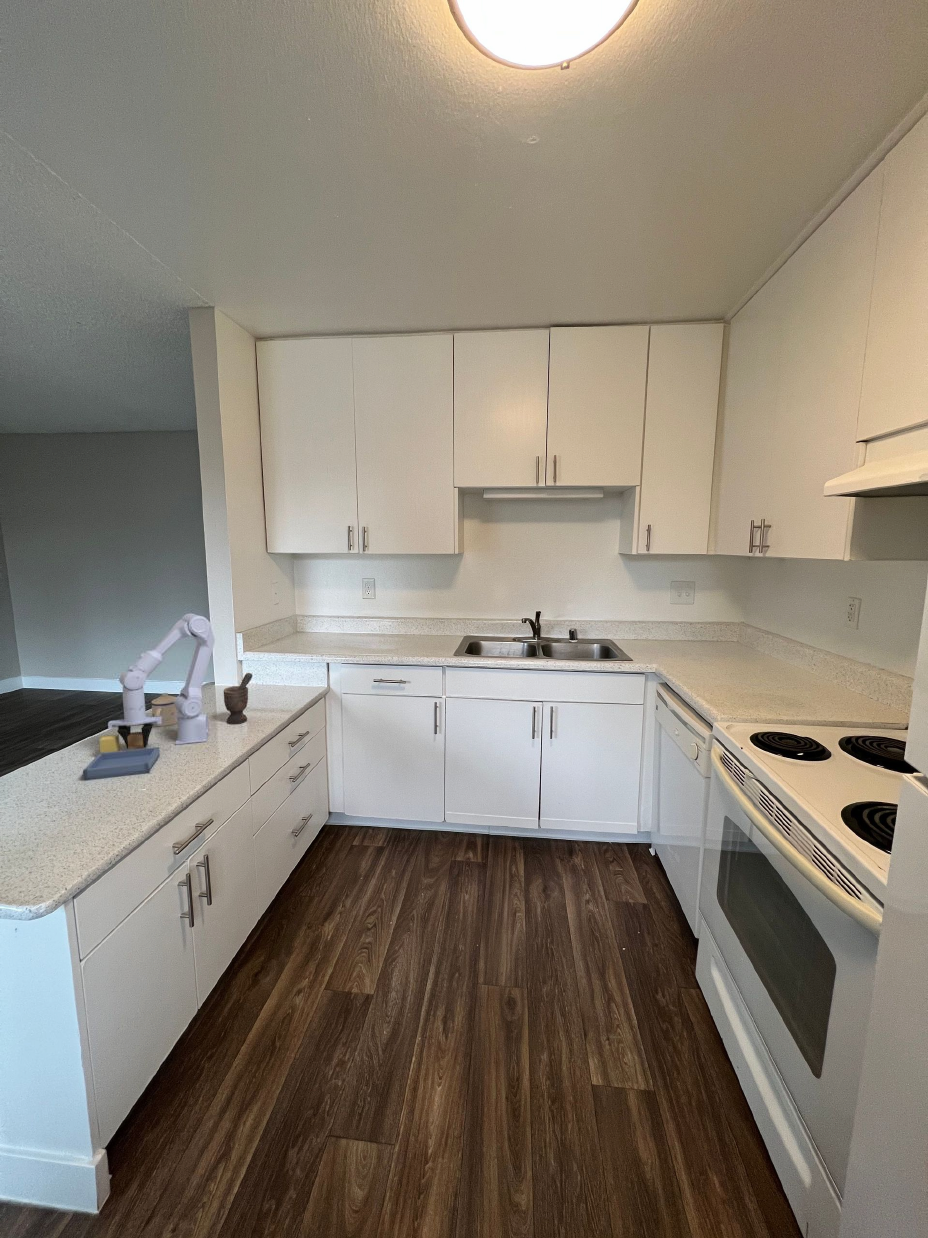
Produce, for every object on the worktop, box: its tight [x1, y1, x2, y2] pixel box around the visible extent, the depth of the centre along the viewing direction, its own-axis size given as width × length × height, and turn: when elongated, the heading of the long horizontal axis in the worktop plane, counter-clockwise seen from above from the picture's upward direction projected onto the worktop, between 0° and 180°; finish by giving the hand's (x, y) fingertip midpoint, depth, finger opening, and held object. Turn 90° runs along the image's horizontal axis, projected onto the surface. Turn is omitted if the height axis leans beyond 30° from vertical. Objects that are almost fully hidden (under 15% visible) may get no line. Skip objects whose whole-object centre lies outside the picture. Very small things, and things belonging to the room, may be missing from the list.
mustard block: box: [99, 733, 121, 753], centre depth 155 cm, size 4×4×6 cm
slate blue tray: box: [82, 746, 161, 782], centre depth 146 cm, size 16×13×3 cm
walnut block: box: [127, 731, 148, 750], centre depth 158 cm, size 4×4×6 cm
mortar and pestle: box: [223, 672, 253, 725], centre depth 187 cm, size 12×9×20 cm
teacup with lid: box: [150, 692, 178, 727], centre depth 183 cm, size 12×9×12 cm
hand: (137, 746), depth 158 cm, fingers closed on walnut block, 4 cm apart
